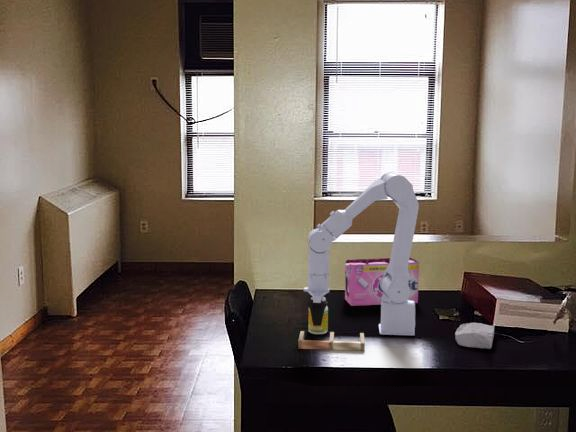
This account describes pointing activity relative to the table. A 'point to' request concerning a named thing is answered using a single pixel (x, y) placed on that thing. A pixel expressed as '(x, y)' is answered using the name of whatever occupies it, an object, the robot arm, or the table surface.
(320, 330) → the supplement bottle
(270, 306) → the table surface
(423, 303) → the table surface
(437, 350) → the table surface
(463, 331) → the stone block
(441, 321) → the table surface
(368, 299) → the gum box
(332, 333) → the e-shaped wooden frame
